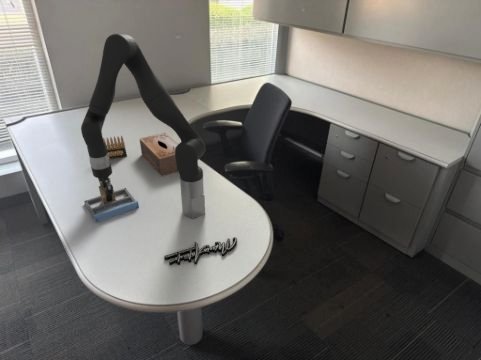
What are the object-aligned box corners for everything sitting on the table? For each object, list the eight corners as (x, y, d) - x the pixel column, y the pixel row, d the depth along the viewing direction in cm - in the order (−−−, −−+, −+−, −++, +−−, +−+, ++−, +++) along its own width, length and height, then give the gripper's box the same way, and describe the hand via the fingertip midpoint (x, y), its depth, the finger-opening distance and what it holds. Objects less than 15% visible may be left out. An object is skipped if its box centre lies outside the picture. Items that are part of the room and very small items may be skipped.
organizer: (138, 207, 144) (138, 201, 142) (95, 222, 135) (94, 216, 133) (126, 190, 154) (125, 185, 152) (85, 203, 145) (83, 198, 143)
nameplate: (231, 231, 131) (243, 247, 124) (231, 233, 132) (243, 250, 125) (162, 251, 121) (169, 271, 113) (162, 254, 122) (170, 274, 114)
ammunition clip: (126, 154, 182) (123, 134, 176) (127, 156, 181) (123, 136, 174) (105, 157, 179) (101, 137, 172) (105, 159, 177) (101, 138, 171)
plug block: (116, 201, 147) (112, 186, 143) (104, 205, 144) (100, 189, 140) (113, 197, 149) (110, 182, 145) (102, 201, 146) (98, 186, 142)
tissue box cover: (188, 168, 172) (186, 151, 167) (161, 176, 165) (159, 159, 160) (166, 148, 190) (164, 132, 184) (141, 155, 183) (139, 138, 177)
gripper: (115, 168, 134) (122, 203, 143) (104, 154, 143) (111, 188, 152) (96, 174, 130) (105, 209, 139) (86, 159, 139) (94, 193, 149)
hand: (108, 198), depth 146 cm, fingers closed on plug block, 3 cm apart
